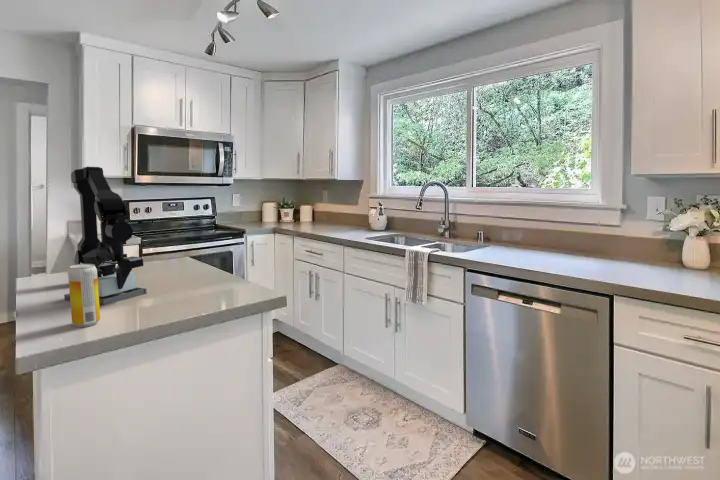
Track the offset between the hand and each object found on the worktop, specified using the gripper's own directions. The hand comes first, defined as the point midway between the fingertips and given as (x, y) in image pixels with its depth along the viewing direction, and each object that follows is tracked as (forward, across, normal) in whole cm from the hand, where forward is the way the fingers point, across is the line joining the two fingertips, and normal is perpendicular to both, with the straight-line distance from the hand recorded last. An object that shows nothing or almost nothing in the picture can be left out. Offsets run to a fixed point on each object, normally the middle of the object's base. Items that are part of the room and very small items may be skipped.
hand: (115, 288), depth 134 cm
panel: (+1, 0, 0) cm, 1 cm away
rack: (+3, -4, 0) cm, 5 cm away
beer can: (+3, +15, -21) cm, 26 cm away
